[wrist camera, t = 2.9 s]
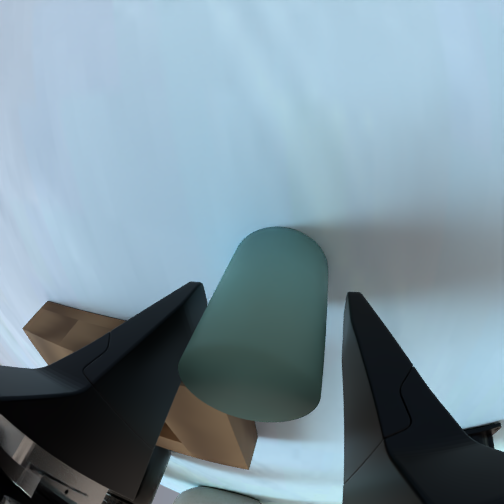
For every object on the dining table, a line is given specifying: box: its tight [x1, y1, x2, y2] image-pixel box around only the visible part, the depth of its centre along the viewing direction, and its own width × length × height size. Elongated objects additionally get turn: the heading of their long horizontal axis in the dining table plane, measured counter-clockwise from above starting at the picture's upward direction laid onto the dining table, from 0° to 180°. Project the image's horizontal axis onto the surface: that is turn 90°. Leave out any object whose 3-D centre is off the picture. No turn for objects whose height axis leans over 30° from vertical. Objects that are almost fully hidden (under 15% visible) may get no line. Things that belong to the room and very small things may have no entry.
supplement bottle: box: [102, 445, 171, 504], centre depth 24 cm, size 7×7×12 cm
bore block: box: [22, 301, 258, 470], centre depth 16 cm, size 14×12×3 cm
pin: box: [178, 227, 328, 422], centre depth 8 cm, size 3×3×5 cm
